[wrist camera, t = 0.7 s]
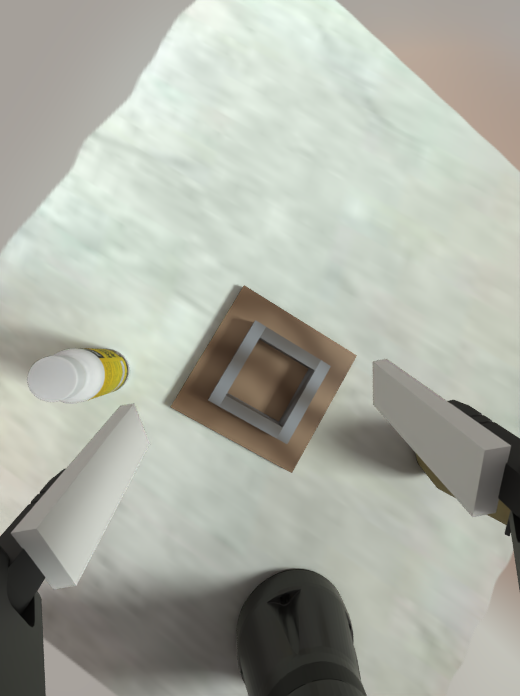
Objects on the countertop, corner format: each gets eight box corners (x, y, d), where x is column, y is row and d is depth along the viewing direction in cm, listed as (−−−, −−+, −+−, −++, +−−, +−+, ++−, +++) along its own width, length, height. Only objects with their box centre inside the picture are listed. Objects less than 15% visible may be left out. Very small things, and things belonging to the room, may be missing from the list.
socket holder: (289, 469, 34) (296, 483, 30) (172, 405, 32) (165, 412, 28) (353, 355, 35) (366, 356, 31) (243, 287, 33) (245, 279, 29)
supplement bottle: (132, 349, 31) (88, 350, 21) (129, 392, 31) (84, 412, 21) (86, 347, 30) (19, 346, 21) (83, 390, 30) (14, 410, 21)
